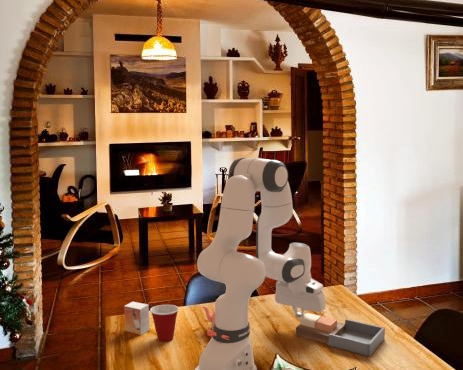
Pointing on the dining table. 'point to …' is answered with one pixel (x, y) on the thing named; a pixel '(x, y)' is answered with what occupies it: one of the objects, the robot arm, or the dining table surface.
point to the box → (358, 338)
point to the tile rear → (309, 320)
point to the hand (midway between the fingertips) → (299, 317)
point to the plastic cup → (164, 321)
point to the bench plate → (319, 332)
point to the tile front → (326, 324)
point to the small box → (136, 318)
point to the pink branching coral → (210, 316)
